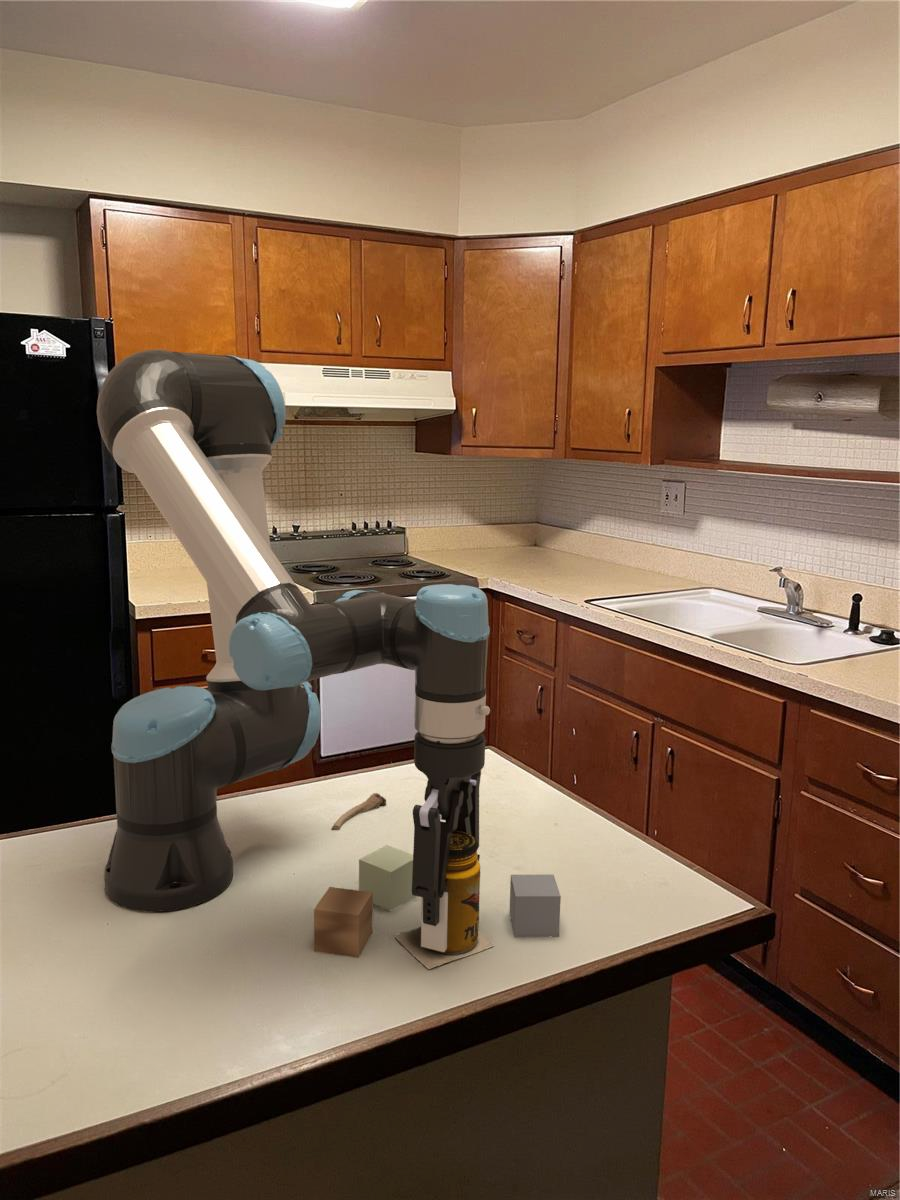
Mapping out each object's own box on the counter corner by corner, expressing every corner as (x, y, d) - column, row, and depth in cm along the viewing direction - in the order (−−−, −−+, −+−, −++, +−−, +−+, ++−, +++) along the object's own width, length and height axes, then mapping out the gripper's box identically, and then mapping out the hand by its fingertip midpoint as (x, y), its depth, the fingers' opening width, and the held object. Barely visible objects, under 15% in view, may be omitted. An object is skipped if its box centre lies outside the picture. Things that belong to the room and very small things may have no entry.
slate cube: (514, 937, 101) (515, 896, 100) (509, 914, 106) (510, 874, 105) (558, 937, 101) (560, 896, 100) (551, 914, 106) (553, 874, 105)
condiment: (494, 947, 99) (497, 844, 96) (428, 970, 94) (430, 863, 92) (456, 917, 105) (459, 819, 102) (393, 938, 100) (394, 836, 98)
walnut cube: (314, 952, 97) (313, 909, 96) (329, 927, 102) (329, 886, 101) (358, 958, 96) (358, 915, 95) (372, 933, 101) (372, 892, 100)
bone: (322, 829, 128) (322, 815, 127) (374, 803, 137) (374, 790, 136) (336, 833, 126) (336, 819, 126) (387, 807, 135) (387, 794, 135)
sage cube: (358, 898, 109) (359, 859, 108) (386, 882, 112) (386, 844, 112) (390, 911, 106) (390, 872, 105) (417, 895, 110) (418, 856, 109)
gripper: (448, 767, 85) (444, 987, 90) (512, 711, 103) (506, 899, 107) (377, 755, 88) (376, 969, 92) (451, 703, 106) (447, 886, 110)
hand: (446, 931), depth 100 cm, fingers closed on condiment, 6 cm apart
